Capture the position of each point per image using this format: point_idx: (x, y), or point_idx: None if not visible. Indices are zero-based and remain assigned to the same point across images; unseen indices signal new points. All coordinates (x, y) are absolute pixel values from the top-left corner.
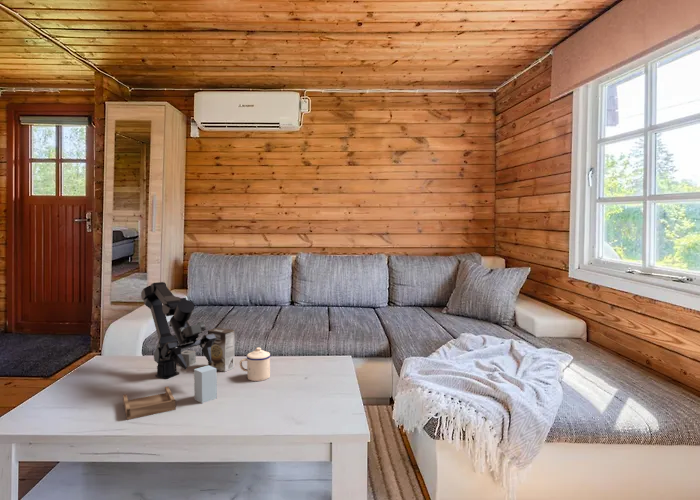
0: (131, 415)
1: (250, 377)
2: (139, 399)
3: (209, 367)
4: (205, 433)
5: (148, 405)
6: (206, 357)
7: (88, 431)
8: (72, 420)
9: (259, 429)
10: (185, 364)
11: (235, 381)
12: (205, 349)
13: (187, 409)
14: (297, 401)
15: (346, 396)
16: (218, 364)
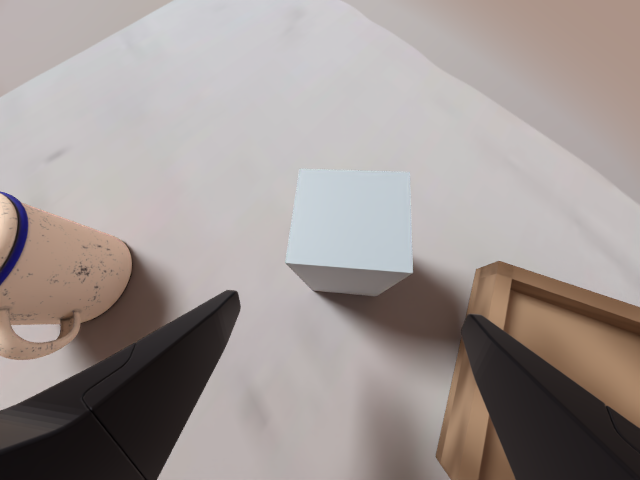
0: None
1: (121, 273)
2: None
3: (314, 216)
4: (471, 87)
5: (628, 310)
6: (204, 377)
7: None
8: None
9: (369, 35)
10: (495, 334)
11: (162, 318)
12: (104, 468)
13: (441, 238)
14: (212, 72)
15: (142, 30)
16: None
